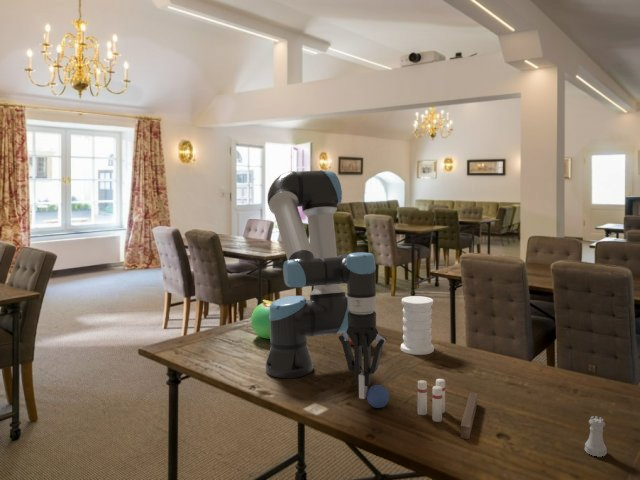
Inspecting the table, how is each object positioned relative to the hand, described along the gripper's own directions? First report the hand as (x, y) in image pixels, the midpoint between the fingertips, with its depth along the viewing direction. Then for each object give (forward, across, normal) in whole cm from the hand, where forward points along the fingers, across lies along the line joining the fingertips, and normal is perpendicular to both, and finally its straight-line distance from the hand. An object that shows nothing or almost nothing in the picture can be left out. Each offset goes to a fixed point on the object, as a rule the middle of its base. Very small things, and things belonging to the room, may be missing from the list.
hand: (363, 396), depth 145 cm
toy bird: (+1, -52, +45) cm, 69 cm away
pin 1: (+3, +20, +5) cm, 20 cm away
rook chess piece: (+4, +56, -3) cm, 56 cm away
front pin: (+3, +16, +2) cm, 16 cm away
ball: (0, +4, +1) cm, 4 cm away
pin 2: (+3, +20, 0) cm, 20 cm away
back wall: (+3, +28, +2) cm, 28 cm away
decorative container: (+2, +3, +50) cm, 51 cm away
